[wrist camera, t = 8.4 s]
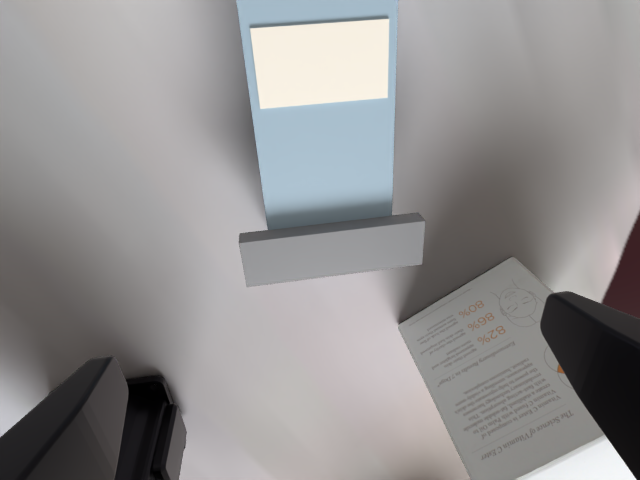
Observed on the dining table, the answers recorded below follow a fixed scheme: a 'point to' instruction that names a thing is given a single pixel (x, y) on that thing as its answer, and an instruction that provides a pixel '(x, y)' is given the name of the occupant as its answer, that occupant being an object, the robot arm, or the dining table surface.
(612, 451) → the small box
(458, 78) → the dining table surface
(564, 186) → the dining table surface
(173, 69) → the dining table surface
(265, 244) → the blue notched block
